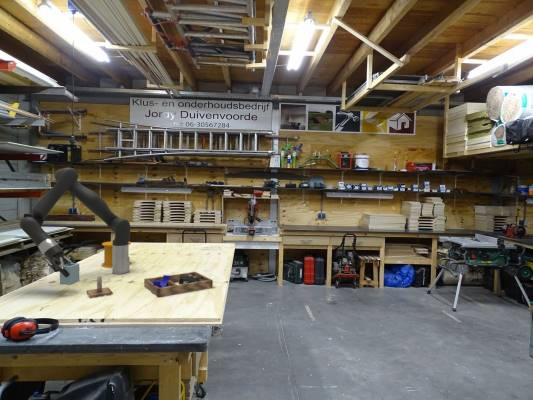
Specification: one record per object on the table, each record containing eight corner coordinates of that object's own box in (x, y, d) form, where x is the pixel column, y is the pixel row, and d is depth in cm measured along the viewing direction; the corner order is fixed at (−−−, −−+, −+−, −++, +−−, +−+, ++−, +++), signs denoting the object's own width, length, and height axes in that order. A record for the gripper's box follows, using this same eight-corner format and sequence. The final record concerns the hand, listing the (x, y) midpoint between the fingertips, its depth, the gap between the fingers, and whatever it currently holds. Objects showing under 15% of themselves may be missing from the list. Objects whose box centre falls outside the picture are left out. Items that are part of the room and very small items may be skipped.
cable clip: (161, 286, 184) (161, 274, 184) (169, 286, 184) (169, 275, 183) (150, 293, 173) (150, 281, 172) (158, 293, 172) (158, 281, 171)
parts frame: (195, 278, 201) (195, 271, 201) (212, 287, 184) (212, 280, 184) (144, 286, 184) (144, 278, 184) (157, 297, 166) (157, 288, 166)
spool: (133, 265, 230) (133, 243, 229) (104, 269, 219) (104, 245, 219) (127, 260, 244) (127, 239, 244) (99, 263, 234) (99, 241, 234)
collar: (68, 280, 173) (68, 263, 173) (79, 281, 173) (79, 263, 172) (59, 284, 168) (59, 265, 167) (71, 284, 167) (70, 266, 166)
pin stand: (108, 289, 177) (108, 273, 177) (112, 294, 169) (112, 278, 169) (86, 292, 171) (86, 276, 171) (90, 298, 163) (90, 281, 163)
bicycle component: (189, 276, 198) (174, 284, 184) (193, 265, 196) (178, 272, 182) (206, 286, 194) (192, 295, 180) (210, 275, 193) (196, 283, 179)
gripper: (44, 247, 163) (67, 273, 162) (66, 242, 177) (87, 265, 176) (34, 257, 164) (57, 283, 163) (57, 251, 178) (78, 275, 177)
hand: (72, 274), depth 170 cm, fingers closed on collar, 6 cm apart
